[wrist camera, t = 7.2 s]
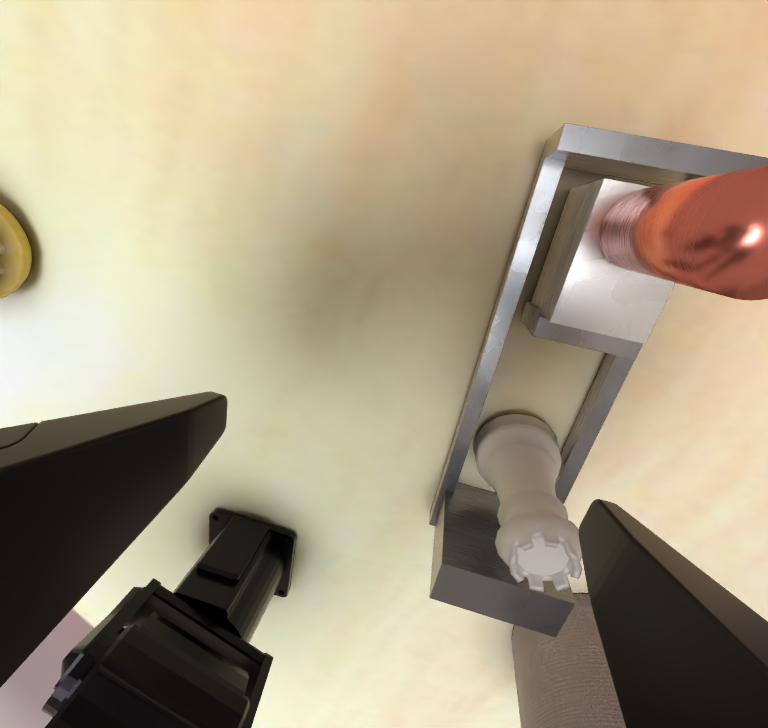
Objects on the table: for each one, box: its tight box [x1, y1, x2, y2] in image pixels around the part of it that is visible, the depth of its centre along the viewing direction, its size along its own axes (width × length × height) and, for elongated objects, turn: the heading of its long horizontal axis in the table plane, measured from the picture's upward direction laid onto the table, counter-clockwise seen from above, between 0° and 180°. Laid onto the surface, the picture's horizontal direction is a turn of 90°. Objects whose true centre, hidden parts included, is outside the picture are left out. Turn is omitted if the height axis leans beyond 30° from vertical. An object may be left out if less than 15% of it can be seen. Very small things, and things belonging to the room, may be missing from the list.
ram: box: [521, 165, 768, 359], centre depth 12 cm, size 6×4×10 cm
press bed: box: [429, 123, 768, 638], centre depth 16 cm, size 21×7×6 cm, turn 169°
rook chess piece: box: [473, 414, 582, 592], centre depth 17 cm, size 4×4×8 cm
